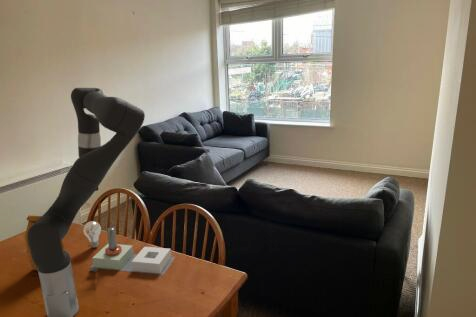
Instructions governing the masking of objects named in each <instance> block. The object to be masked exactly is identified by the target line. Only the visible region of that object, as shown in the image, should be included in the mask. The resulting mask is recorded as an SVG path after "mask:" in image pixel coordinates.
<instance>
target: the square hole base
mask: <svg viewBox="0 0 476 317" xmlns="http://www.w3.org/2000/svg"><path fill="white" fill-rule="evenodd" d="M117 245H119V246H121V249H122V251H121V253H119V254H117V255H114V256H108V255H106V253H105V249H106V248H107V247H109V244H108V243H107V244H106V245H104V246H103V247H102V249H100V250H99V251H98V252H97V253H96V254H95V255H94V256H93V257H92V265H90V266H89V271H90V272H98V271H99V270H100V269H102V270H110V271H111V270H112V271H120V272H129V273H130V272H132V273H141V274H152V275H162V276H164V274H165V273H166V272H167V270H168V269H169V267H170V266H171V265H172V263H173V262H174V260H175V258H176V257H175V256H172V249H171V248H164V247H154V246H144V247H143V248H142V249H141V250H140V251H139V252H138V253H135V252H134V245H132V244H131V245H130V244H119V243H117Z"/></svg>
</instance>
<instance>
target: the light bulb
mask: <svg viewBox="0 0 476 317" xmlns="http://www.w3.org/2000/svg"><path fill="white" fill-rule="evenodd" d="M101 231H102V227H101V225H100V223H99V222H98V221H95V220H94V221H93V220H91V221H88V222H87V223H85V224H84V227H83V234H84V235H85V237H87V239H88V241H89V246H90V247H91V248H93V249H95V248H97V247H98V246H99V239H100V238H99V236H100V234H101Z"/></svg>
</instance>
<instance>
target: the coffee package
mask: <svg viewBox="0 0 476 317" xmlns="http://www.w3.org/2000/svg"><path fill="white" fill-rule="evenodd" d="M41 216H42V215H33V214H32V215H28V216H27V217H26V221H28V222H27V227H26V229H25V230H26V231H25V234H24V240H25V244H26V245H25V246H26V249H27V254H28V255H27V256H28V260H29V264H30V268H31V270H33V271H37V272H38V268H37V266H36V265H35V263H34V262H33V259H32V256H31V252H30V248H29V245H28V239H27V234H28V230H29V228H30V227H31V226H32V225H33V224H34V223H35V222H36V221H37V220H38V219H39V218H40V217H41ZM61 244H62V249H63V251H66V249H65V245H64V242H63V239H62V240H61Z"/></svg>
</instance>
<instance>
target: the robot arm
mask: <svg viewBox="0 0 476 317" xmlns="http://www.w3.org/2000/svg"><path fill="white" fill-rule="evenodd" d="M70 93H71V94H70V100H71V104H72V106H73V108H74V112H75V114H76V119H77V131H78V133H77V134H78V135H77V150H78V152H77V153H78V158H77V159H76V160H75V161H74V163H73V164H72V165H71V167H70V169H69V170H68V172H67V173H66V175H65V177H64V178H63V182H62V184H61V187H60V190H59V192H58V193H59V194H58V196H57V197H56V199H55V201H53V203H52V205H51V206H50V207H49V208H48V209H47V210H46V211H45V212H44V213H43V214H42V215H40V216H41V217H40V218H39V219H38V220H37V221H36V222H35V223H34V224H33V225H32V226H31V227H30V228H29V230H28V234H27V239H28V245H29V248H30V252H31V256H32V259H33V262H34V263H35V265H36V266H37V268H38V271H37V272H38V273H37V274H38V277H39V281H40V283H39V284H40V289H41V293H42V297H43V302H44V308H45V312H46V316H47V317H74V316H75V315H76V314H77V313H78V312H79V309H80V307H79V302H78V301H79V300H78V296H77V290H76V284H75V277H74V273H73V267H72V260H71V255H70V253H69V252H68V251H66V250H65V251H63V249H62V244H61V240H62V241H63V240H64V238H65V237H66V235H67V234H68V232H69V230H70V228H71V226H72V223H73V222H74V220H75V217H76V216H77V214H78V212H79V211H80V209H81V208H82V207H83V206H84V205H85V204H86V203H87V202H88V200H90V198H91V197H92V196H93V194H94V193H96V192H97V191H99V186H100V185H101V183H102V181H103V180H104V179H105V177H106V175H107V174H108V172H109V171H110V169H111V167H112V166H113V165H114V163H115V162H116V160H117V159H118V157H120V155H121V154H122V152H123V151H124V150H125V149H126V147H127V146H128V145H129V144H130V143H131V141H132V140H133V139H134V138H135V137H136V135H137V134H138V132H139V131H140V129H141V128H142V126H143V124H144V121H145V112H144V110H143V109H141V108H140V107H138V106H136V105H134V104H132V103H130V102H129V101H126V100H125V99H123V98H120V97H116V96H107V95H105V94H104V92H103V90H102V89H101V88H97V87H74V88H73V90H72V91H71V92H70ZM85 109H86V110H87V111H88V112H89V113H86V112H85ZM90 113H91V114H90ZM100 125H101V126H102V127H104V128H105V129H107V130H109V131H111V132H113V133H114V135H113V136H112V137H111V138H110V140H108V141H107V142H105V143H104V144H103V145H101V138H102V137H101V132H100V131H101V130H100Z"/></svg>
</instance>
